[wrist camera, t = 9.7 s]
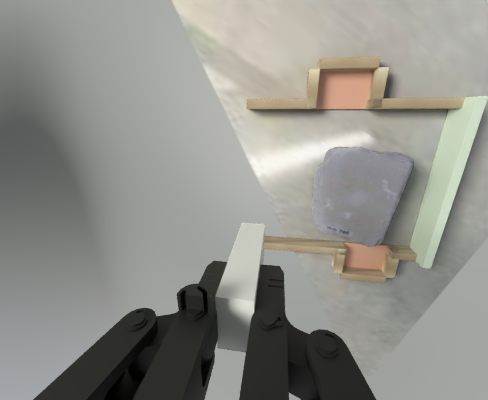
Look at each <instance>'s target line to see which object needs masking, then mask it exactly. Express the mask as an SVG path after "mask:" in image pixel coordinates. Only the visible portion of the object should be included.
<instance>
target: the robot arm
mask: <svg viewBox="0 0 488 400" xmlns="http://www.w3.org/2000/svg"><path fill="white" fill-rule="evenodd" d="M264 235H265V224H254V223H242V224H241V226H240V229H239V232H238V235H237V238H236V240H235V243H234V246H233V249H232V251H231V254H230V257H229V260H228V262H221V261H213V262H212V263H211V264H209V265H208V266H207V268H206V270H205V272H204V274H203V276H202V278H201V280H200V282H199V284H191V285H188V286H185V287H184V288H182V289H181V290H180V291H179V292H178V293H177V299H178V307H179V311H178V312H177V313H174V314H170V315H163V316H157V317H156V314H155V312H154V311H153V310H152V309H148V308H140V309H136V310H134V311H132V312H130V313H128V314H127V315H126V316H124V317H123V318H122V319H121V320H120V321H119V322H118V323H117V324H116V325H114V326H113V327H112V328H111V329H110V330H109V331H108V332H107V333H106V334H105V335H103V336H102V337H101V338H100V339H99V340H98V341H97V342H96V343H95V344H94V345H93V346H91V348H89V349H88V350H87V351H86V352H85V353H84V354H83V355H82V356H81V357H79V358H78V359H77V360H76V361H75V362H74V363H73V364H72V365H71V366H70V367H69V368H67V369H66V370H65V371H64V372H63V373H62V374H61V375H60V376H59V377H58V378H56V379H55V380H54V381H53V382H52V383H51V384H50V385H49V386H48V387H47V388H46V389H45V390H43V391H42V392H41V393H40V394H39V395H38V396H37V397H36V398H35V399H34V400H204V399H205V395H206V391H207V388H208V384H209V380H210V376H211V372H212V369H213V365H214V358H215V354H214V350H215V347H216V343H217V342H218V348H220V349H227V350H234V351H241V352H246V357H245V364H244V371H243V378H242V384H241V391H240V398H239V400H289V393H291V394H293V395H295V396H296V397H298V398H300V399H301V400H376V399H375V397H374V395H373V393H372V391H371V389H370V388H369V386H368V384H367V382H366V380H365V378H364V376H363V375H362V373H361V371H360V369H359V367H358V365H357V364H356V362H355V360H354V358H353V356H352V355H351V353H350V351H349V349H348V347H347V345H346V344H345V343H344V341H343V340H342V339H341V338H340V337H339V336H337V335H336V334H335V333H333V332H330V331H328V330H316V331H313V332H312V333H311V334H307V333H305V332H303V331H300V330H299V329H297V328H295V327H293V326H292V325H291V324H290V322H289V321H288V320H287V318H286V315H285V298H284V297H285V296H284V273H283V271H282V269H281V268H280V266H272V265H263V261H264Z"/></svg>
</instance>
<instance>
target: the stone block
mask: <svg viewBox="0 0 488 400" xmlns="http://www.w3.org/2000/svg"><path fill="white" fill-rule="evenodd" d="M413 167H414V162H413V160H412V159H411V158H410V157H408V156H406V155H403V154H401V153H397V152H374V151H369V150H367V149H365V148H362V147H351V148H349V147H335V148H332V149H330V150H328V151H327V152H326V155H325V158H324V160H323V162H322V163H321V165H320V168H319V169H318V171H317V173H316V175H315V177H314V185H313V207H312V216H313V219H314V223H315V225H316V226H317V227H318V228H319V229H320V230H321V231H322V232H324V233H327V234H330V235H335V236H341V237H345V238H348V239H350V240H352V241H353V242H355V243H358V244H362V245H364V246H367V247H374V246H376V245H378V244H381V243H382V241H383V239H384V237H385V235H386V232H387V229H388V227H389V224H390V222H391V220H392V218H393V215H394V213H395V210H396V208H397V205H398V203H399V201H400V198H401V196H402V193H403V191H404V189H405V186H406V184H407V181H408V179H409V177H410V174H411V172H412V169H413Z"/></svg>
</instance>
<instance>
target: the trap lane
mask: <svg viewBox="0 0 488 400" xmlns="http://www.w3.org/2000/svg"><path fill="white" fill-rule="evenodd" d="M380 58H381V56H377V57H345V58H321V59H320V60H319V62H318V67H317V69H310V71H309V72H308V81H307V92H306V99H247V109H449V110H448V113H447V117H446V120H445V124H444V127H443V131H442V134H441V138H440V141H439V145H438V148H437V152H436V155H435V159H434V162H433V166H432V169H431V173H430V176H429V180H428V183H427V187H426V190H425V194H424V197H423V201H422V204H421V208H420V211H419V215H418V218H417V222H416V225H415V229H414V232H413V236H412V239H411V243H410V246H409V247H407V246H394V245H380V244H378V245H376V246H374V247H367V246H364V245H362V244H358V243H353V242H339V241H325V240H312V239H298V238H283V237H270V236H264V249H274V250H287V251H298V252H310V253H323V254H333V259H332V267H333V270H334V272H335V273H339V276H340V278H341V279H347V280H357V281H368V282H378V283H385V282H386V278H387V277H389V278H394V277H395V274H396V270H397V267H398V263H399V260H410V261H416V262H417V263H418V264H419V265H420V266H421V267H422V268H431V266H432V263H433V260H434V257H435V254H436V251H437V248H438V245H439V242H440V239H441V236H442V233H443V230H444V228H445V225H446V222H447V219H448V216H449V213H450V210H451V207H452V204H453V201H454V198H455V195H456V192H457V189H458V186H459V183H460V180H461V177H462V174H463V171H464V168H465V165H466V162H467V159H468V156H469V153H470V150H471V147H472V144H473V141H474V138H475V135H476V132H477V129H478V126H479V123H480V120H481V117H482V114H483V111H484V108H485V105H486V102H487V99H488V96H476V97H468V98H383V96H384V91H385V86H386V80H387V75H388V70H389V67H379V64H380Z"/></svg>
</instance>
